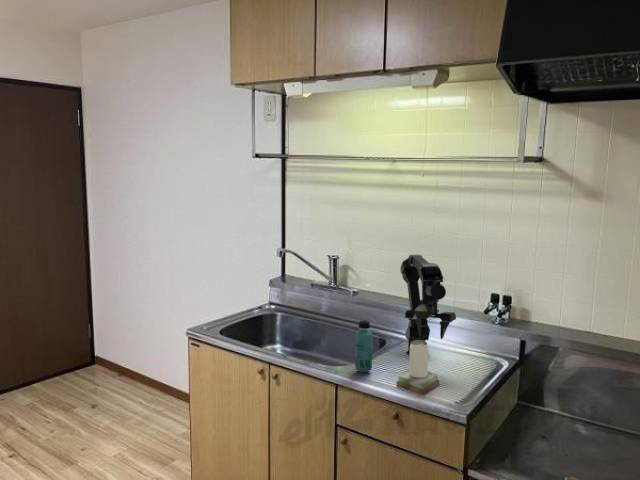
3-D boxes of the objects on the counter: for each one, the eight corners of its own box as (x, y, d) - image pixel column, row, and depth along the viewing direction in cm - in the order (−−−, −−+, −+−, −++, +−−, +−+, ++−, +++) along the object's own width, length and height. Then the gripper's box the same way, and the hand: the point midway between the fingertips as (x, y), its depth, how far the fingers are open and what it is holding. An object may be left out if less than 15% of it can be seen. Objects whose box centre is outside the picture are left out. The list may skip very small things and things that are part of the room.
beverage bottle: (357, 368, 203) (358, 318, 200) (374, 370, 201) (375, 320, 198) (352, 374, 197) (352, 322, 194) (369, 377, 195) (370, 324, 192)
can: (416, 380, 182) (416, 346, 180) (405, 373, 188) (406, 341, 186) (431, 376, 185) (432, 344, 183) (420, 370, 191) (421, 338, 189)
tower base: (396, 386, 186) (396, 376, 186) (412, 377, 195) (412, 366, 194) (424, 395, 179) (424, 384, 179) (439, 385, 188) (439, 374, 187)
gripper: (397, 297, 200) (398, 338, 200) (443, 300, 188) (444, 343, 188) (411, 294, 209) (412, 334, 209) (456, 297, 197) (456, 338, 197)
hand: (430, 337), depth 200 cm, fingers open, 9 cm apart
